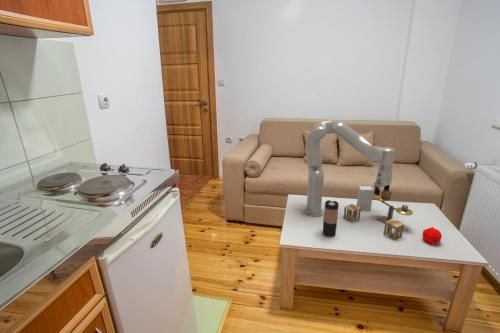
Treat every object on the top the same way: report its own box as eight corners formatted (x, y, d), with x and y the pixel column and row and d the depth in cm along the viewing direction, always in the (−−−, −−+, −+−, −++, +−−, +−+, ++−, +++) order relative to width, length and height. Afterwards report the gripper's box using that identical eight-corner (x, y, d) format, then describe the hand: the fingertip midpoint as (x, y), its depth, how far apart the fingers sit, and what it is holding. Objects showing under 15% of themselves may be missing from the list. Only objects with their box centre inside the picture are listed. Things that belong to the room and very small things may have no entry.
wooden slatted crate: (352, 222, 179) (353, 210, 176) (343, 218, 185) (344, 206, 182) (359, 219, 183) (360, 207, 180) (350, 215, 188) (351, 203, 185)
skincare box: (368, 206, 200) (371, 186, 195) (371, 210, 194) (374, 189, 189) (356, 205, 201) (358, 185, 196) (358, 210, 194) (361, 189, 189)
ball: (432, 247, 154) (435, 234, 152) (419, 239, 161) (421, 227, 158) (442, 243, 157) (445, 231, 155) (428, 236, 164) (431, 224, 161)
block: (386, 200, 175) (387, 193, 174) (380, 198, 179) (381, 191, 177) (390, 199, 177) (391, 192, 176) (384, 197, 181) (385, 189, 179)
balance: (404, 233, 167) (408, 211, 162) (367, 216, 187) (370, 196, 182) (412, 228, 171) (416, 207, 167) (375, 212, 191) (378, 192, 186)
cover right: (401, 236, 164) (404, 223, 161) (394, 240, 160) (397, 227, 158) (390, 230, 170) (392, 218, 167) (383, 234, 166) (385, 221, 163)
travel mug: (328, 238, 163) (331, 207, 156) (319, 232, 169) (322, 201, 163) (338, 234, 166) (341, 204, 160) (329, 228, 173) (332, 199, 166)
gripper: (382, 172, 167) (378, 198, 172) (399, 166, 175) (395, 191, 181) (371, 168, 173) (367, 194, 178) (388, 163, 181) (384, 188, 187)
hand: (381, 193), depth 180 cm, fingers open, 9 cm apart
